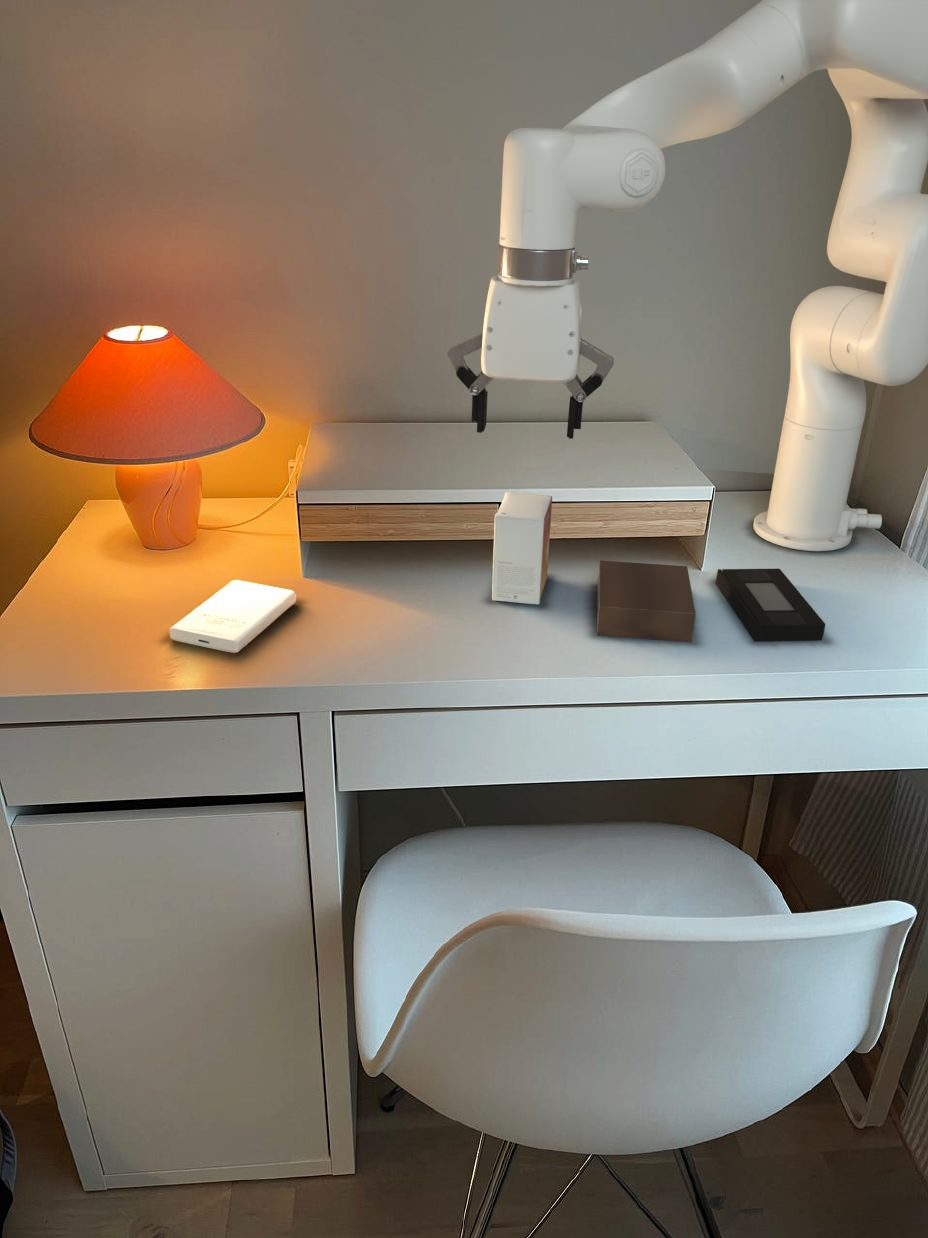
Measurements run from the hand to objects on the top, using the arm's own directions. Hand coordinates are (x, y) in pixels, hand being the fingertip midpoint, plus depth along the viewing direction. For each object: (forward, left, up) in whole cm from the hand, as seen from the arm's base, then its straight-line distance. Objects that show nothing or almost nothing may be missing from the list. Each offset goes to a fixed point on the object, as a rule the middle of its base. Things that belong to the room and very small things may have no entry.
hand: (525, 432), depth 107 cm
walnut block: (-14, +4, -19) cm, 24 cm away
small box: (0, 0, -19) cm, 19 cm away
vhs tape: (-28, +1, -19) cm, 34 cm away
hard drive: (+30, +13, -19) cm, 38 cm away
